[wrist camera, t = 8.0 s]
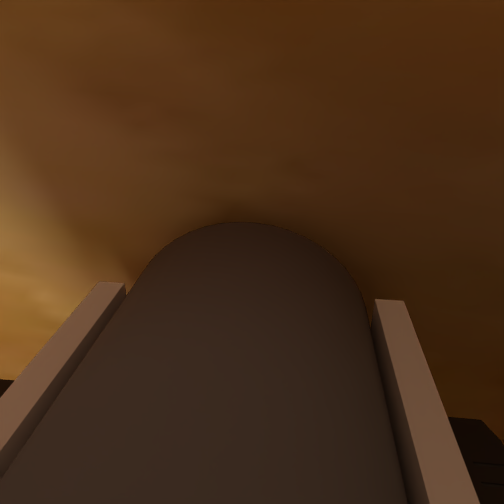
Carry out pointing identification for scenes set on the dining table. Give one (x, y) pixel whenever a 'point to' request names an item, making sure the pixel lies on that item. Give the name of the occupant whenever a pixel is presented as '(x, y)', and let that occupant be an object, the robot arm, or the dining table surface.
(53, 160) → the dining table surface
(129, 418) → the dark brown cylinder
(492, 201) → the dining table surface
